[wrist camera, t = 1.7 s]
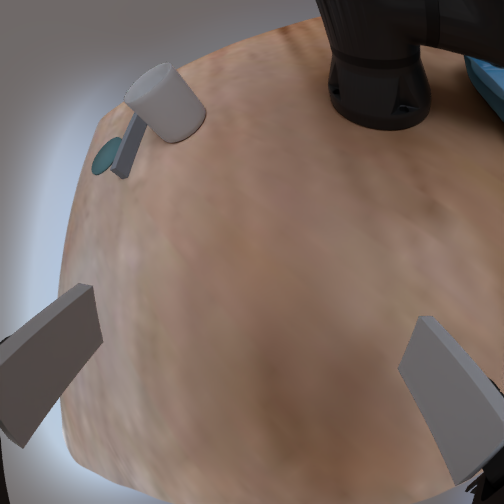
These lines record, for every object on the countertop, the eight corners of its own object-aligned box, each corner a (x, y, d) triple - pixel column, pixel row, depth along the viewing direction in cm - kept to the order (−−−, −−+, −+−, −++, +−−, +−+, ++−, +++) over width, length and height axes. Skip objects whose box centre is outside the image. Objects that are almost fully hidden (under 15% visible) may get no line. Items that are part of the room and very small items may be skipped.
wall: (147, 113, 52) (138, 103, 49) (153, 110, 51) (143, 101, 48) (122, 179, 46) (110, 170, 43) (128, 177, 46) (115, 167, 42)
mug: (201, 137, 41) (159, 89, 31) (147, 153, 46) (106, 116, 35) (212, 100, 44) (179, 55, 34) (161, 117, 48) (127, 81, 38)
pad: (111, 136, 55) (110, 135, 55) (128, 140, 51) (127, 139, 50) (88, 170, 55) (86, 169, 54) (102, 179, 50) (100, 178, 49)
